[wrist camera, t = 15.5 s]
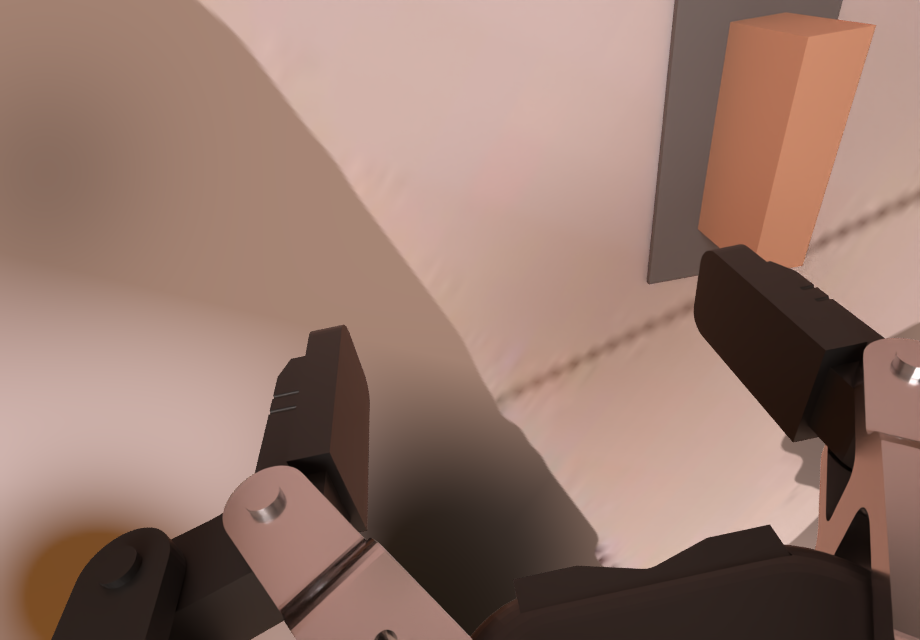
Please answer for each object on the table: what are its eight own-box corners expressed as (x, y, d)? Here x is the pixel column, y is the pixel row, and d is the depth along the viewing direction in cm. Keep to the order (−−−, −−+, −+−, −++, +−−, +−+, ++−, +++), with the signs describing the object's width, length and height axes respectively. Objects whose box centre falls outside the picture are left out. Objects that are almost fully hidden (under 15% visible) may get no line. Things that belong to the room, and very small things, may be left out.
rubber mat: (680, -58, 33) (684, -58, 32) (860, -89, 33) (866, -89, 33) (646, 281, 48) (649, 284, 48) (769, 258, 48) (772, 261, 48)
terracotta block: (730, 22, 35) (808, 37, 29) (785, 12, 36) (876, 24, 29) (697, 229, 45) (751, 275, 38) (741, 220, 45) (802, 265, 39)
